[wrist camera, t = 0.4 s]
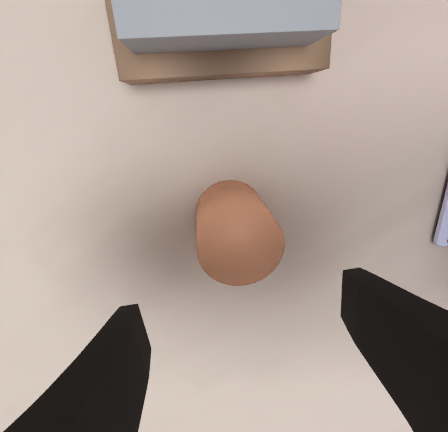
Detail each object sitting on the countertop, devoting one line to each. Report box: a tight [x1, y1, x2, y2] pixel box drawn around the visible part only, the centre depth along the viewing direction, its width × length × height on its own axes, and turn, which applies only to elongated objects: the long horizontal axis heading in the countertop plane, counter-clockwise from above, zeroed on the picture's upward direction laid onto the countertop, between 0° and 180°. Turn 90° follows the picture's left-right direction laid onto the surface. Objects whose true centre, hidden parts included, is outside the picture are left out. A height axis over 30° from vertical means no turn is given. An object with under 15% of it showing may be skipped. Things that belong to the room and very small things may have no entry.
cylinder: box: [196, 180, 285, 286], centre depth 16 cm, size 4×4×5 cm
